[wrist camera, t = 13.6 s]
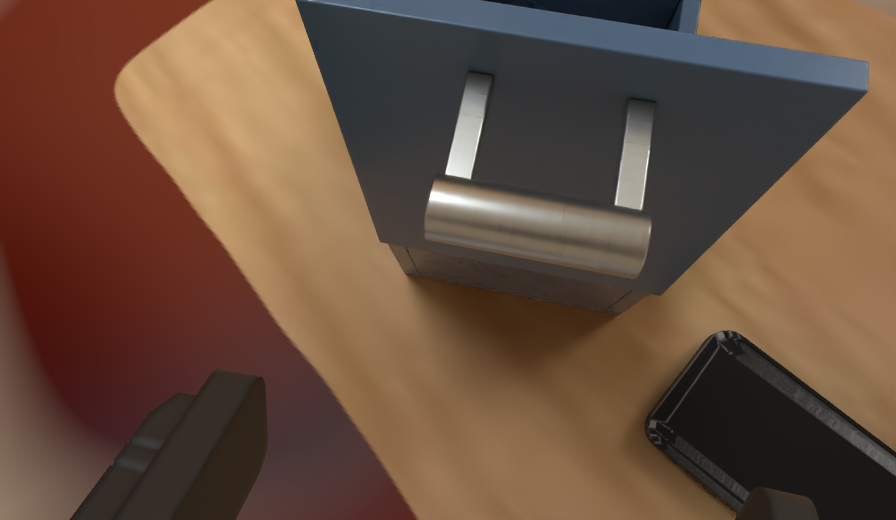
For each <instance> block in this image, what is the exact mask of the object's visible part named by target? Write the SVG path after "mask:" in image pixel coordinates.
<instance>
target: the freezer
mask: <svg viewBox="0 0 896 520" xmlns="http://www.w3.org/2000/svg"><path fill="white" fill-rule="evenodd" d="M482 1H488V2H494V3H501V4H507V5H513V6H520V7H526V8H532V9H539V10H545V11H551V12H558V13H564V14H570V15H577V16H583V17H589V18H596V19H602V20H608V21H615V22H621V23H627V24H633V25H640V26H646V27H652V28H659V29H665V30H671V31H678V32H684V33H690V34H697V27H698V20H699V13H700V7H701V0H482ZM388 245H389V247H390V248H391V250H392V252H393V254H394V255H395V257H396V259H397V260H398V262H399V264H400V266H401V267H402V269H403V271H404V272H405V274H408V275H413V276H418V277H424V278H429V279H434V280H439V281H444V282H449V283H454V284H459V285H464V286H470V287H475V288H480V289H485V290H490V291H495V292H500V293H505V294H511V295H516V296H521V297H526V298H531V299H536V300H541V301H546V302H552V303H557V304H562V305H567V306H572V307H577V308H582V309H587V310H592V311H598V312H603V313H608V314H613V315H620V314H621V313H622V312H624V311H625V310H627V309H628V308H630V307H631V306H633V305H634V304H636V303H638V302H639V301H641V300H642V299H644V298H645V297H647V296H648V295H650V294H648V293H643V292H638V291H633V290H628V289H622V288H617V287H612V286H607V285H602V284H596V283H591V282H586V281H581V280H575V279H570V278H565V277H560V276H555V275H549V274H544V273H539V272H534V271H529V270H523V269H518V268H513V267H508V266H502V265H497V264H492V263H487V262H482V261H476V260H471V259H466V258H461V257H456V256H450V255H445V254H440V253H435V252H429V251H424V250H419V249H414V248H409V247H403V246H398V245H393V244H388Z"/></svg>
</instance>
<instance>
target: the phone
mask: <svg viewBox="0 0 896 520" xmlns="http://www.w3.org/2000/svg"><path fill="white" fill-rule="evenodd" d="M645 432H646V435H647V437H648V439H649V440H650V442H651V443H652V444H653V445H654V446H656V447H657V448H658V449H659V450H661V451H662V452H663V453H664V454H665V455H667V457H668V458H670V459H671V460H672V461H673V462H675V463H677V464H678V465H679V466H680V467H681V468H683V469H684V471H685V472H686V473H688V474H689V475H690V476H691V477H693V478H694V479H695V480H696V481H697V482H700V483H701V484H702V485H703V487H704V488H706V489H707V490H708V491H709V492H710V493H712V494H713V495H714V496H715V497H718V498H720V499H721V500H722V501H723V502H724V503H726V504H727V505H728V506H729V507H731V508H732V509H733V510H734V511H736V512H737V513H739V512H740V510H741V508H742V506H743V504H744V503H745V501H746V499H747V497H748V495H749V494H750V492H751V491H752V490H753V488H755V487H758V486H759V487H764V488H768V489H773V490H777V491H782V492H787V493H791V494H796V495H800V496H805V497H808V498H809V499H810V500H811V501H812V502H813V504H814V506H815V508H816V511H817V514H818V517H819V520H896V452H895V451H893V450H892V449H891V448H889V447H888V446H887V445H886V444H884V443H883V442H882V441H880V440H879V439H878V438H876V437H875V436H874V435H872V434H871V433H870V432H868V431H867V430H866V429H864V428H863V427H862V426H861V425H859V424H858V423H857V422H855V421H854V420H853V419H851V418H850V417H849V416H847V415H846V414H845V413H843V412H842V411H841V410H840V409H838V408H837V407H836V406H834V405H833V404H832V403H830V402H829V401H828V400H826V399H825V398H824V397H822V396H821V395H820V394H818V393H817V392H816V391H815V390H813V389H812V388H811V387H809V386H808V385H807V384H805V383H804V382H803V381H801V380H800V379H799V378H797V377H796V376H795V375H793V374H792V373H791V372H790V371H788V370H787V369H786V368H784V367H783V366H782V365H780V364H779V363H778V362H776V361H775V360H774V359H772V358H771V357H770V356H768V355H767V354H766V353H765V352H763V351H762V350H761V349H759V348H758V347H757V346H755V345H754V344H753V343H751V342H750V341H749V340H747V339H746V338H745V337H743V336H742V335H741V334H739V333H737V332H734V331H729V330H728V331H721V332H718V333H715V334H713V335H711V336H709V337H708V338H707V339H706V340H705V342H704V343H703V344H702V346H701V347H700V348H699V349H698V351H697V352H696V353H695V355H694V356H693V357H692V359H691V360H690V361H689V363H688V364H687V365H686V366H685V368H684V369H683V370H682V372H681V373H680V374H679V376H678V377H677V378H676V379H675V381H674V382H673V383H672V385H671V386H670V387H669V389H668V390H667V391H666V393H665V394H664V395H663V396H662V398H661V399H660V400H659V402H658V403H657V404H656V406H655V407H654V408H653V410H652V411H651V412H650V413H649V415H648V417H647V419H646V422H645Z"/></svg>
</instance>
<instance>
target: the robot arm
mask: <svg viewBox="0 0 896 520" xmlns="http://www.w3.org/2000/svg"><path fill="white" fill-rule="evenodd" d="M267 438H268V437H267V415H266V393H265V382H264V379H263V378H262V377H258V376H254V375H250V374H245V373H240V372H235V371H231V370H226V369H221V368H218V369H216V370H215V371H214V372H213V373H212V374H211V375H210V376H209V378H208V379H207V381H206V382H205V384H204V385H203V387H202V388H201V389H200V391H199V392H198V394H197V395H196V396H193V395H188V394H183V393H177V394H176V395H174V396H173V397H171V398H170V399H169V400H167V401H166V402H164V403H163V404H161V405H160V406H158V407H157V408H156V409H154V410H153V411H151V412H150V413H149V414H148V416H147V417H146V419H145V420H144V421H143V422H142V424H141V425H140V426H139V428H138V429H137V430H136V432H135V433H134V435H133V436H132V437H131V438H130V442H129V444H126V445H125V446H124V448H123V449H122V450H121V452H120V453H119V454H118V456H117V457H116V458H115V460H114V464H113V466H110V467H109V468H108V469H107V470H106V472H105V473H104V474H103V476H102V477H101V478H100V480H99V481H98V482H97V484H96V485H95V487H94V488H93V489H92V491H91V492H90V493H89V494H88V496H87V497H86V498H85V500H84V501H83V502H82V504H81V505H80V506H79V508H78V509H77V510H76V512H75V513H74V515H73V516H72V517H71V519H70V520H236V518H237V516H238V514H239V512H240V510H241V508H242V506H243V504H244V502H245V500H246V498H247V496H248V494H249V492H250V490H251V488H252V487H253V485H254V483H255V481H256V479H257V476H258V475H259V472H260V470H261V467H262V464H263V461H264V458H265V454H266V449H267V440H268V439H267ZM735 520H819V517H818V514H817V511H816V508H815V506H814V504H813V502H812V501H811V500H810V499H809V498H808V497H805V496H800V495H796V494H791V493H787V492H782V491H777V490H773V489H768V488H764V487H759V486H758V487H755V488H753V490H752V491H751V492H750V494H749V495H748V497H747V499H746V501H745V503H744V504H743V506H742V508H741V510H740V512H739V513H738V515H737V517H736V519H735Z"/></svg>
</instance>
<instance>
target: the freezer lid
mask: <svg viewBox="0 0 896 520" xmlns="http://www.w3.org/2000/svg"><path fill="white" fill-rule="evenodd" d="M295 1H296V4H297V6H298V9H299V12H300V15H301V18H302V21H303V23H304V26H305V29H306V32H307V35H308V38H309V41H310V43H311V46H312V49H313V52H314V55H315V58H316V61H317V63H318V66H319V69H320V72H321V75H322V78H323V81H324V83H325V86H326V89H327V92H328V95H329V98H330V101H331V103H332V106H333V109H334V112H335V115H336V118H337V120H338V123H339V126H340V129H341V132H342V135H343V138H344V140H345V143H346V146H347V149H348V152H349V155H350V158H351V160H352V163H353V166H354V169H355V172H356V175H357V178H358V180H359V183H360V186H361V189H362V192H363V195H364V198H365V200H366V203H367V206H368V209H369V212H370V215H371V217H372V220H373V223H374V226H375V229H376V232H377V235H378V237H379V240H380V242H383V243H388V244H393V245H398V246H403V247H409V248H414V249H419V250H424V251H429V252H435V253H440V254H445V255H450V256H456V257H461V258H466V259H471V260H476V261H482V262H487V263H492V264H497V265H502V266H508V267H513V268H518V269H523V270H529V271H534V272H539V273H544V274H549V275H555V276H560V277H565V278H570V279H575V280H581V281H586V282H591V283H596V284H602V285H607V286H612V287H617V288H622V289H628V290H633V291H638V292H643V293H648V294H654V295H659V296H660V295H662V294H663V293H664V292H665V291H666V290H667V289H668V288H669V287H670V286H671V285H672V284H673V283H674V282H675V281H676V280H677V279H678V278H679V277H680V276H681V275H682V274H683V273H684V272H685V271H686V270H687V269H688V268H689V267H690V266H691V265H692V264H693V263H694V262H695V261H696V260H697V259H698V258H699V257H700V256H701V255H702V254H703V253H704V252H705V251H706V250H707V249H708V248H710V247H711V246H712V245H713V244H714V243H715V242H716V241H717V240H718V239H719V238H720V237H721V236H722V235H723V234H724V233H725V232H726V231H727V230H728V229H729V228H730V227H731V226H732V225H733V224H734V223H735V222H736V221H737V220H738V219H739V218H740V217H741V216H742V215H743V214H744V213H745V212H746V211H747V210H748V209H749V208H750V207H751V206H752V205H753V204H754V203H755V202H756V201H757V200H758V199H759V198H760V197H761V196H762V195H764V194H765V193H766V192H767V191H768V190H769V189H770V188H771V187H772V186H773V185H774V184H775V183H776V182H777V181H778V180H779V179H780V178H781V177H782V176H783V175H784V174H785V173H786V172H787V171H788V170H789V169H790V168H791V167H792V166H793V165H794V164H795V163H796V162H797V161H798V160H799V159H800V158H801V157H802V156H803V155H804V154H805V153H806V152H807V151H808V150H809V149H810V148H811V147H812V146H813V145H814V144H815V143H816V142H818V141H819V140H820V139H821V138H822V137H823V136H824V135H825V134H826V133H827V132H828V131H829V130H830V129H831V128H832V127H833V126H834V125H835V124H836V123H837V122H838V121H839V120H840V119H841V118H842V117H843V116H844V115H845V114H846V113H847V112H848V111H849V110H850V109H851V108H852V107H853V106H854V105H855V104H856V103H857V102H858V101H859V100H860V99H861V98H862V97H863V96H864V95H865V94H866V93H867V92H868V72H869V63H868V62H867V61H861V60H855V59H848V58H842V57H836V56H829V55H823V54H817V53H810V52H804V51H798V50H791V49H785V48H779V47H772V46H766V45H760V44H754V43H747V42H741V41H735V40H728V39H722V38H716V37H709V36H703V35H697V34H690V33H684V32H678V31H671V30H665V29H659V28H652V27H646V26H640V25H633V24H627V23H621V22H615V21H608V20H602V19H596V18H589V17H583V16H577V15H570V14H564V13H558V12H551V11H545V10H539V9H532V8H526V7H520V6H513V5H507V4H501V3H494V2H488V1H482V0H295Z"/></svg>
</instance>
